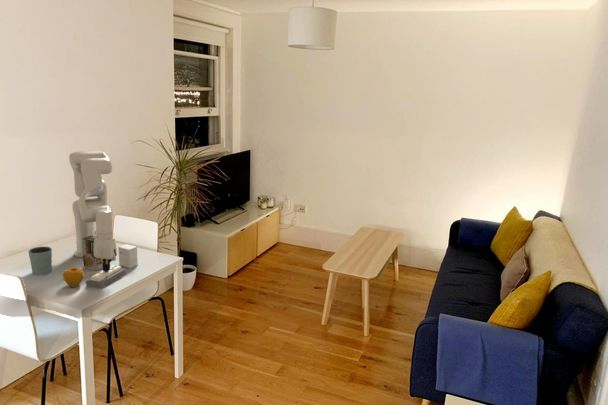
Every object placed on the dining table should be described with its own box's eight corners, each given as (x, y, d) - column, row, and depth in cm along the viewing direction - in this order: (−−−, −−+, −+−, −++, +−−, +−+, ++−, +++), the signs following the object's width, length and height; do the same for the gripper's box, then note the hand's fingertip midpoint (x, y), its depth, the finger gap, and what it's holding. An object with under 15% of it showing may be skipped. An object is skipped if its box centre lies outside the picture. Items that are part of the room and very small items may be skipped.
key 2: (113, 270, 234) (113, 264, 233) (121, 271, 233) (121, 266, 232) (107, 273, 229) (107, 267, 229) (115, 275, 228) (115, 269, 228)
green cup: (48, 276, 226) (47, 253, 223) (26, 276, 225) (24, 253, 222) (56, 268, 236) (54, 246, 233) (34, 268, 234) (33, 246, 231)
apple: (75, 280, 223) (74, 263, 221) (89, 284, 220) (88, 266, 218) (59, 286, 215) (58, 269, 213) (73, 291, 212) (72, 272, 210)
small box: (138, 265, 246) (137, 246, 244) (130, 268, 242) (129, 249, 239) (126, 262, 250) (126, 243, 247) (118, 265, 245) (118, 246, 242)
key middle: (105, 274, 228) (105, 268, 227) (113, 276, 227) (113, 270, 226) (99, 278, 224) (99, 272, 223) (107, 279, 223) (107, 273, 222)
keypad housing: (111, 271, 236) (111, 266, 235) (125, 274, 234) (125, 268, 233) (86, 286, 218) (86, 280, 217) (101, 288, 216) (101, 282, 215)
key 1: (97, 279, 222) (97, 273, 222) (105, 280, 221) (105, 274, 221) (91, 282, 218) (90, 276, 217) (99, 284, 217) (99, 278, 216)
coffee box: (106, 266, 242) (104, 237, 238) (97, 270, 236) (95, 241, 232) (92, 263, 245) (90, 235, 241) (82, 267, 239) (81, 238, 235)
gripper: (86, 235, 218) (88, 271, 223) (113, 239, 215) (115, 275, 219) (96, 230, 225) (98, 265, 230) (123, 234, 222) (124, 270, 226)
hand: (106, 270), depth 224 cm, fingers closed
